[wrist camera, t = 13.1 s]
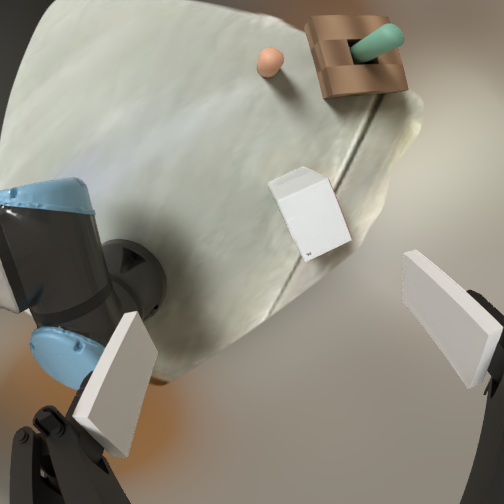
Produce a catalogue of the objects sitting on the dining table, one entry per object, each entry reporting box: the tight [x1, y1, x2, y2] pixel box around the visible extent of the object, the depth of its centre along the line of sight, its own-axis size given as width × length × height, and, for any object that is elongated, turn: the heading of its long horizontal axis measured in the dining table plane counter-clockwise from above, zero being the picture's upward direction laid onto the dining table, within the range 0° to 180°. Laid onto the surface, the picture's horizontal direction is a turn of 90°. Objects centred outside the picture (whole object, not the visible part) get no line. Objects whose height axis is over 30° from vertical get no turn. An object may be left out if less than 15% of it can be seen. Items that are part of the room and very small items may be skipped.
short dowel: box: [257, 48, 284, 78], centre depth 33 cm, size 3×3×7 cm
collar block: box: [304, 15, 408, 99], centre depth 33 cm, size 12×12×5 cm
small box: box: [267, 166, 352, 262], centre depth 37 cm, size 8×6×13 cm
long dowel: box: [349, 24, 404, 65], centre depth 29 cm, size 3×3×14 cm
